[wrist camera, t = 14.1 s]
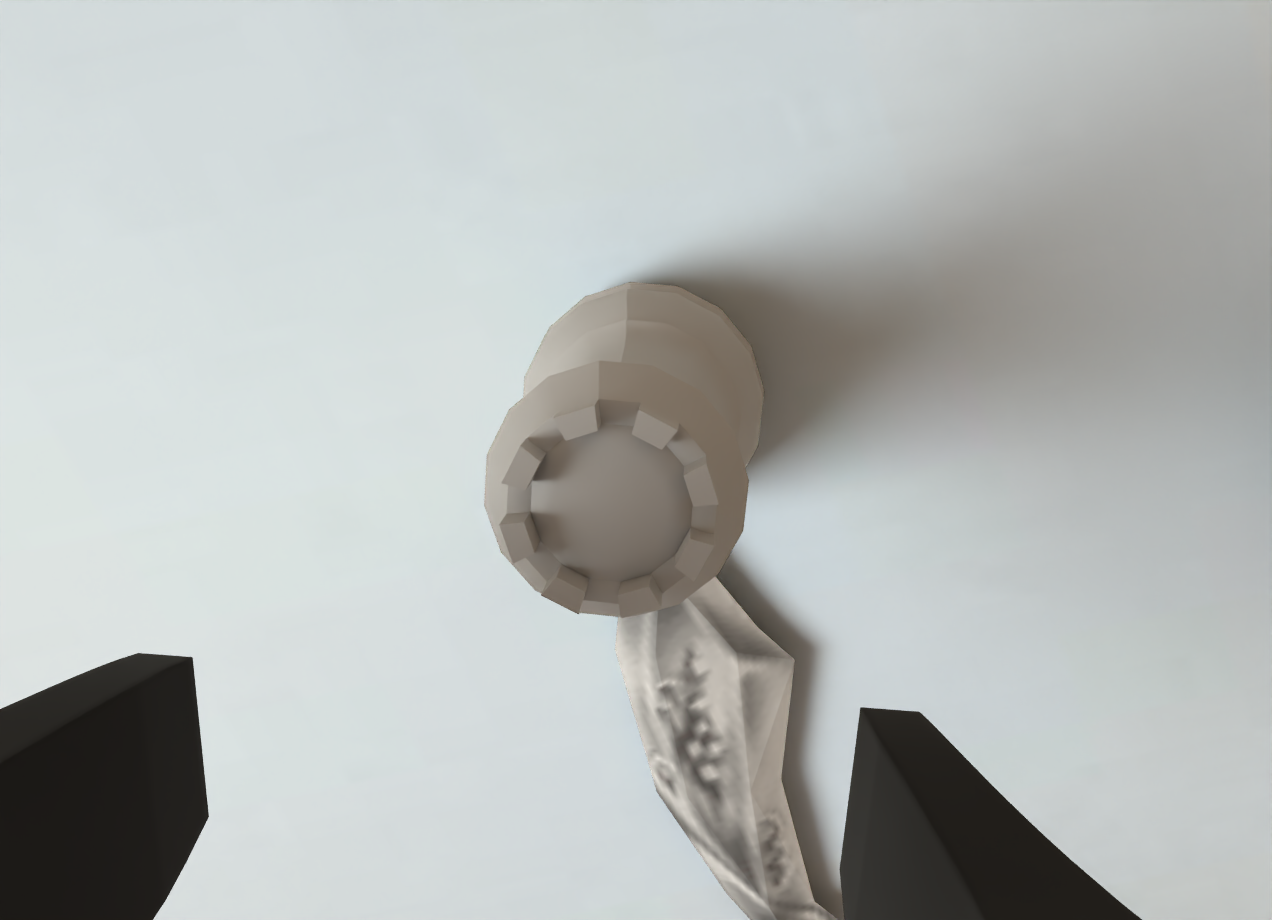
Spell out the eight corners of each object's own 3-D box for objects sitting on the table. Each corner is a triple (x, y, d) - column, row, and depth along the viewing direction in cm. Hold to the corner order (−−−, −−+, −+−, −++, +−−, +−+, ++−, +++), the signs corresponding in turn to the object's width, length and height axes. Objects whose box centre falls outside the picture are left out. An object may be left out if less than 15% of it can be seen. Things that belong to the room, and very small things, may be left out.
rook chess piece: (514, 293, 19) (383, 339, 11) (752, 267, 19) (790, 294, 11) (545, 521, 20) (446, 709, 12) (772, 500, 20) (820, 680, 12)
